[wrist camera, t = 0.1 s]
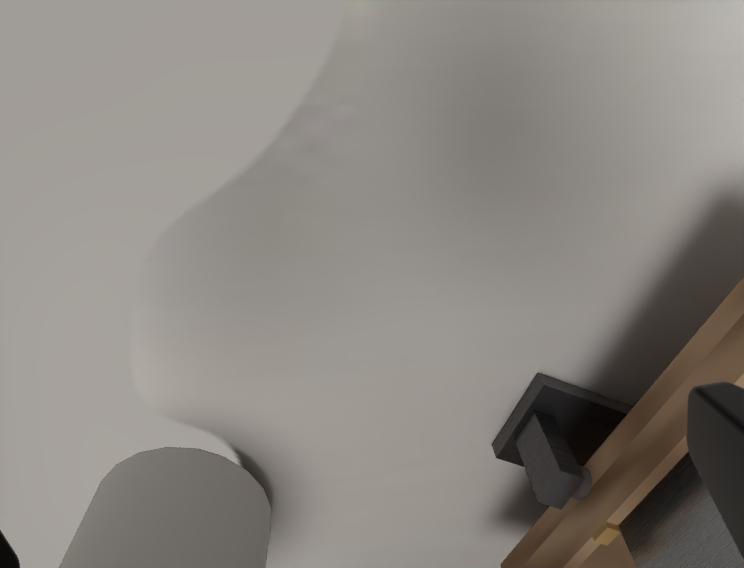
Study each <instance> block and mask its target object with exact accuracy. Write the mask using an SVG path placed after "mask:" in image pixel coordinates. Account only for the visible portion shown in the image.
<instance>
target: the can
mask: <svg viewBox="0 0 744 568" xmlns="http://www.w3.org/2000/svg"><path fill="white" fill-rule="evenodd" d="M270 530H271V506H270V504H269V501H268V498H267V496H266V493H265V491H264V489H263V488H262V486H261V485H260V484H259V483H258V482H257V481H256V480H255V479H254V478H253V476H252V475H251V474H250V473H249V472H248V471H247V470H245V469H244V468H242V467H240V466H239V465H237V464H235V463H234V462H232V461H230V460H229V459H227V458H225V457H223V456H220V455H218V454H214V453H211V452H207V451H204V450H201V449H194V448H175V447H173V448H172V447H165V448H160V449H155V450H150V451H146V452H140V453H138V454H136V455H134V456H132V457H130V458H128V459H126V460H125V461H122V462H120V463H119V464H117V465H116V466H115V467H114V468H113V469H112V470H111V471H110V472H109V473H108V474H107V476H106V477H105V478H104V479H103V480H102V481H101V483H100V485H99V487H98V489H97V491H96V493H95V495H94V497H93V499H92V501H91V503H90V505H89V507H88V510H87V512H86V513H85V515H84V517H83V519H82V521H81V524H80V526H79V528H78V530H77V532H76V534H75V536H74V538H73V540H72V542H71V544H70V546H69V548H68V550H67V552H66V554H65V556H64V558H63V560H62V563H61V564H60V566H59V568H265V566H266V559H267V552H268V545H269V537H270Z"/></svg>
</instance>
